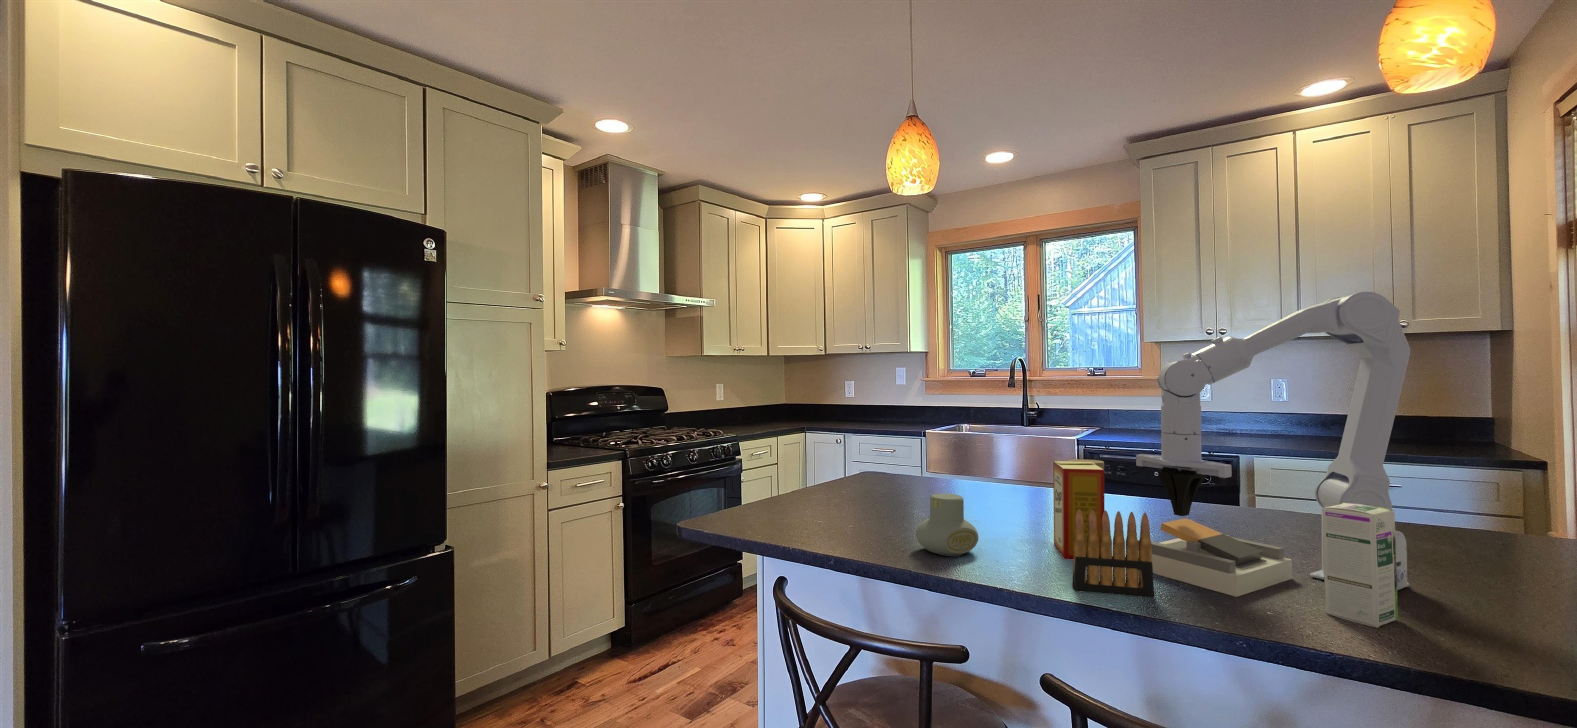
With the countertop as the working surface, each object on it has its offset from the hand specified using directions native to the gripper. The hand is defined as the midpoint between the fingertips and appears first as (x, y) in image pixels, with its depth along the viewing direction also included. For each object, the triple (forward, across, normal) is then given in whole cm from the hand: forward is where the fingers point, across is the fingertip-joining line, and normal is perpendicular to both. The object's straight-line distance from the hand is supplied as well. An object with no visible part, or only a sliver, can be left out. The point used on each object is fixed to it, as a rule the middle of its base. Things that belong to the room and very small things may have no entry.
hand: (1181, 514), depth 108 cm
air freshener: (+9, -26, -28) cm, 39 cm away
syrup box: (+9, +24, -2) cm, 26 cm away
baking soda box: (+9, -14, -8) cm, 18 cm away
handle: (+9, -19, +1) cm, 21 cm away
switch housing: (+8, +4, 0) cm, 10 cm away
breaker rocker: (+4, +4, 0) cm, 6 cm away
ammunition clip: (+9, +2, -21) cm, 23 cm away
